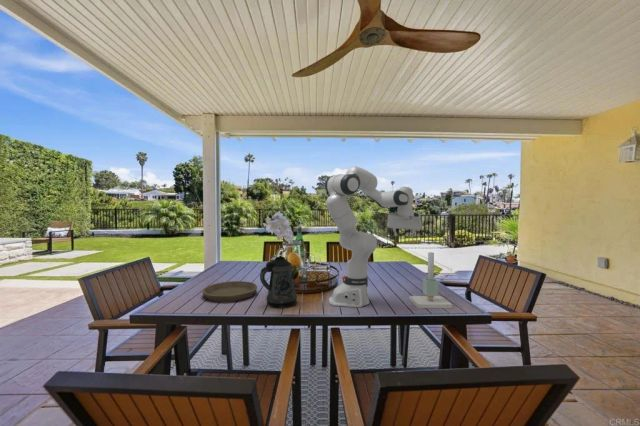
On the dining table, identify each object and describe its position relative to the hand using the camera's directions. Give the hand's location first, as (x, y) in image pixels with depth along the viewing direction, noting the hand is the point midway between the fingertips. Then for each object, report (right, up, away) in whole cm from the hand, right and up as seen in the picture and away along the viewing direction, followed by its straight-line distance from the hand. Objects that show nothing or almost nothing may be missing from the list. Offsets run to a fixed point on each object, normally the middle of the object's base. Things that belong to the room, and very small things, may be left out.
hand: (403, 236), depth 179 cm
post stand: (+10, -36, -16) cm, 40 cm away
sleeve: (+10, -30, -16) cm, 36 cm away
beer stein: (-72, -35, -18) cm, 82 cm away
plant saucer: (-104, -35, -3) cm, 109 cm away
